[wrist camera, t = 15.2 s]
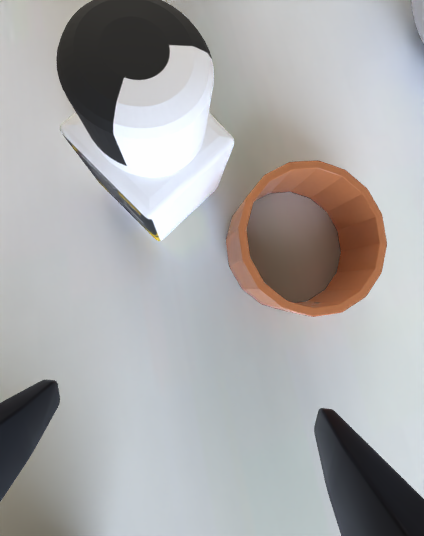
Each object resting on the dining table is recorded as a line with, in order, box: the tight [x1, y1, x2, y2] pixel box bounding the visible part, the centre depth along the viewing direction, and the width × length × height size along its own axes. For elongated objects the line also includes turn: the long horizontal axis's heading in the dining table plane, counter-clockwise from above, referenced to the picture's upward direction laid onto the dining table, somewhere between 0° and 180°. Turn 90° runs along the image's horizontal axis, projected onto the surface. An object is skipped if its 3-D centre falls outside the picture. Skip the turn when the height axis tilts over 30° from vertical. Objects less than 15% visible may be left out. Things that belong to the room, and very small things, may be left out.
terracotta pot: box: [226, 161, 387, 317], centre depth 20 cm, size 11×11×4 cm
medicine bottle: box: [57, 0, 234, 241], centre depth 15 cm, size 7×7×12 cm
